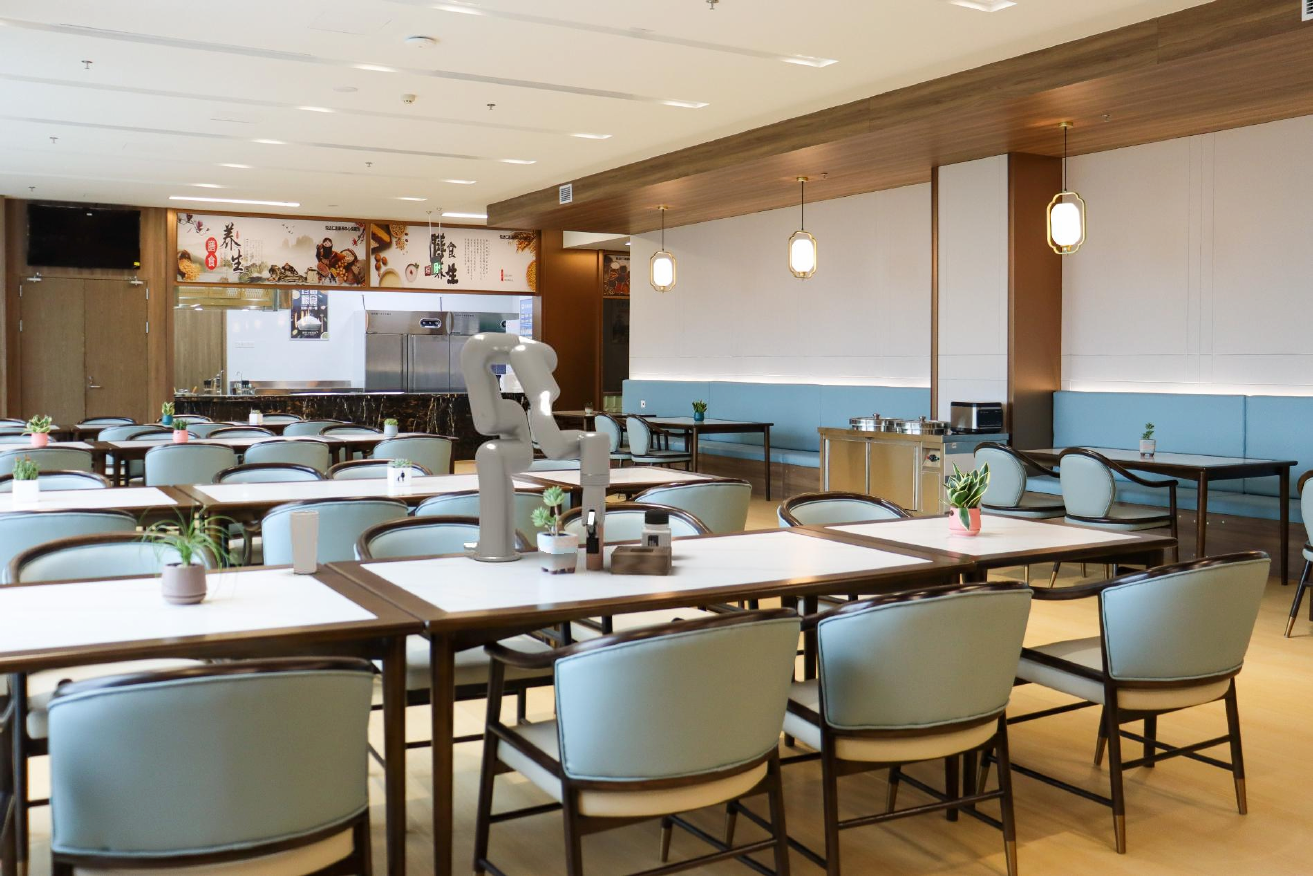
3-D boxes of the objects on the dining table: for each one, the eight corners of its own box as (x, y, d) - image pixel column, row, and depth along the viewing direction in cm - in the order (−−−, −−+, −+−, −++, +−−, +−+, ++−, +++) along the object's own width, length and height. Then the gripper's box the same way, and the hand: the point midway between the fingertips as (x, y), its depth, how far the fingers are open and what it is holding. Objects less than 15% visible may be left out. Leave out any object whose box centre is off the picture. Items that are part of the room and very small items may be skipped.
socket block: (610, 574, 286) (610, 554, 286) (617, 564, 300) (617, 545, 300) (667, 575, 285) (667, 555, 285) (671, 566, 299) (671, 546, 299)
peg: (584, 570, 292) (584, 523, 291) (587, 567, 296) (587, 520, 295) (602, 570, 291) (602, 523, 290) (604, 567, 296) (604, 521, 295)
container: (670, 560, 307) (671, 511, 306) (641, 560, 307) (641, 511, 307) (671, 556, 315) (671, 508, 314) (642, 555, 315) (642, 508, 314)
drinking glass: (311, 575, 282) (310, 514, 281) (285, 574, 283) (284, 513, 282) (324, 571, 288) (323, 511, 288) (299, 569, 290) (298, 510, 289)
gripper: (585, 477, 301) (585, 545, 302) (574, 484, 284) (574, 556, 285) (614, 477, 300) (613, 546, 302) (605, 484, 283) (604, 557, 284)
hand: (594, 550), depth 293 cm, fingers open, 6 cm apart
